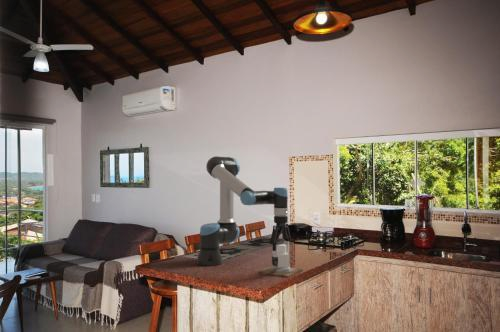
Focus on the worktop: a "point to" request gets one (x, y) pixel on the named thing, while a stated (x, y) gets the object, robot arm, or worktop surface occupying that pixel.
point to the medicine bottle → (281, 257)
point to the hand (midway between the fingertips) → (280, 254)
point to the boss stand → (280, 271)
